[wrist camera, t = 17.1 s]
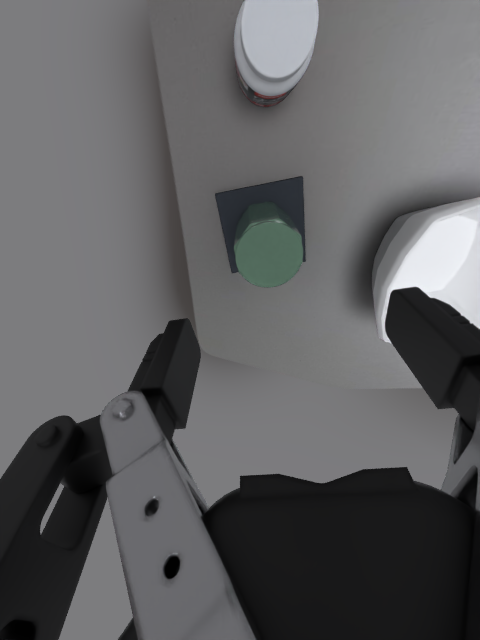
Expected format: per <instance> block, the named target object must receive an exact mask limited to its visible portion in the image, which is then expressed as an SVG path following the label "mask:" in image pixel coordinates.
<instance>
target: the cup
mask: <svg viewBox="0 0 480 640" xmlns="http://www.w3.org/2000/svg"><path fill="white" fill-rule="evenodd" d="M234 252H235V259H236V265H237V268H238V272H239V273H240V274H241V275H242V276H243V277H244V278H245V279H246V280H247V281H248V282H250V283H252V284H254V285H256V286H260V287H275V286H279V285H281V284H284V283H285V282H287V281H289V280H290V279H291V278H292V277H293V276H294V275H295V274H296V273H297V271H298V270H299V268H300V266H301V264H302V262H303V246H302V236H301V235H300V233H299V231H298V229H297V228H296V226H295V224H294V223H293V221H292V219H291V217H290V216H289V214H288V213H286V212H285V211H284V210H283V209H281V208H280V207H279V206H278V205H276V204H275V203H274V202H272V201H269V202H264V203H259V204H253V205H250V206H249V207H248V208H247V210H246V211H245V213H244V214H243V216H242V217H241V219H240V220H239V222H238V223H237V228H236V235H235V243H234Z"/></svg>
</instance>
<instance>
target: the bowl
mask: <svg viewBox="0 0 480 640" xmlns="http://www.w3.org/2000/svg"><path fill="white" fill-rule="evenodd" d="M409 287H418V288H420V289H421V290H422V291H423V292H424V293H425V294H427V295H428V296H429V297H430V298H436V299H438V300H441V301H443V302H445V303H447V304H450V305H451V306H452V307H453V308H454V309H456V310H457V311H458V312H459V313H461V316H464V317H465V318H467V319H468V320H469V321H470V324H471V323H473V324H474V325H475V326H476V327H477V328H479V329H480V197H477V198H472V199H468V200H463V201H458V202H453V203H449V204H444V205H441V206H436V207H432V208H427V209H422V210H418V211H415V212H411V213H408V214H404V215H401V216H399V217H398V218H397V219H396V220H395V221H394V222H393V224H392V225H391V227H390V228H389V230H388V231H387V233H386V234H385V236H384V238H383V240H382V242H381V244H380V247H379V249H378V251H377V253H376V255H375V258H374V264H373V270H372V291H373V299H374V310H375V317H376V325H377V333H378V337H379V338H380V339H382V340H383V341H386V342H389V343H391V341H390V340H389V338H388V337H387V334H386V331H385V320H386V314H387V309H388V304H389V298H390V294H391V292H392V291H393V290H395V289H402V288H409ZM391 344H392V343H391Z"/></svg>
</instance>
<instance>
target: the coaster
mask: <svg viewBox="0 0 480 640" xmlns="http://www.w3.org/2000/svg"><path fill="white" fill-rule="evenodd" d="M215 196H216V201H217V206H218V210H219V215H220V220H221V224H222V229H223V234H224V238H225V243H226V248H227V252H228V257H229V262H230V266H231V271H232V273H236V272H238V268H237V265H236V259H235V252H234V243H235V235H236V228H237V223H238V222H239V220H240V219H241V217H242V216H243V214H244V213H245V211H246V210H247V208H248V207H249V206H250V205H253V204H259V203H264V202H269V201H272V202H274V203H275V204H276V205H278V206H279V207H280V208H281V209H283V210H284V211H285V212H286V213H288V214H289V216H290V217H291V219H292V221H293V223H294V224H295V226H296V228H297V229H298V231H299V233H300V235H301V236H302V246H303V262H305V261H306V260H305V228H304V197H303V177H302V176H301V177H296V178H291V179H286V180H281V181H276V182H270V183H265V184H260V185H255V186H250V187H245V188H240V189H235V190H230V191H225V192H220V193H216V194H215Z"/></svg>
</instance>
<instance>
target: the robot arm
mask: <svg viewBox="0 0 480 640" xmlns="http://www.w3.org/2000/svg"><path fill="white" fill-rule="evenodd" d="M385 331H386V334H387V337H388V338H389V340H390V341H391V343H392V344H393V346H394V347H395V348H396V350H397V351H398V353H399V354H400V356H401V357H402V358H403V360H404V361H405V363H406V364H407V366H408V367H409V368H410V370H411V371H412V373H413V374H414V376H415V377H416V378H417V380H418V381H419V383H420V384H421V386H422V387H423V388H424V390H425V391H426V393H427V394H428V395H429V397H430V398H431V400H432V401H433V402H434V404H435V406H436V407H437V408H438V409H445V408H455V409H456V410H457V412H458V413H459V414H458V416H457V418H456V422H455V428H454V434H453V440H452V446H451V453H450V459H449V464H448V470H447V473H446V477H445V479H444V482H443V484H442V487H441V490H439V489H437V488H434V487H432V486H429V485H426V484H423V483H420V482H417V481H413V479H412V477H411V475H410V473H409V471H408V469H407V467H400V468H381V469H363V470H361V471H358V472H355V473H352V474H350V475H347V476H344V477H341V478H339V479H335V480H333V481H330V482H327V483H315V482H311V481H307V480H303V479H298V478H294V477H290V476H285V475H281V474H270V475H250V476H240V488H238V489H236V490H234V491H232V492H230V493H228V494H226V495H224V496H223V497H222V498H220V499H219V500H218V501H216V502H215V503H214V504H213V505H212V506H211V507H210V508H209V506H208V505H207V503H206V501H205V499H204V497H203V496H202V494H201V492H200V490H199V489H198V487H197V485H196V483H195V482H194V480H193V478H192V476H191V474H190V472H189V470H188V468H187V466H186V464H185V462H184V460H183V458H182V456H181V454H180V453H179V450H178V449H177V447H176V445H175V443H174V441H173V439H172V437H173V433H174V429H183V428H186V423H187V418H188V414H189V409H190V404H191V399H192V395H193V391H194V386H195V381H196V377H197V372H198V368H199V363H200V358H201V353H200V347H199V344H198V341H197V338H196V336H195V333H194V330H193V328H192V325H191V323H190V321H189V319H187V318H186V319H179V320H172V321H169V322H168V325H167V327H166V329H165V332H164V333H163V334H159V335H158V336H157V337H156V338H155V339H154V340H153V341H152V342H151V343H150V345H149V347H148V350H147V352H146V354H145V356H144V358H143V362H141V364H140V366H139V369H138V371H137V373H136V375H135V377H134V379H133V381H132V383H131V385H130V387H129V390H128V392H125V393H122V394H120V395H118V396H117V397H115V398H114V399H113V400H111V402H109V403H108V405H107V406H106V407H105V408H104V410H103V411H102V414H101V415H99V416H96V417H94V418H91V419H88V420H85V421H83V422H80V423H76V422H75V421H74V420H73V419H72V418H71V417H69V416H58V417H55V418H53V419H51V420H49V421H47V422H45V423H44V424H43V425H41V426H40V427H39V428H37V429H36V430H35V431H34V432H33V433H32V434H31V436H30V437H29V438H28V439H27V441H26V442H25V444H24V445H23V447H22V448H21V450H20V451H19V452H18V454H17V455H16V457H15V458H14V460H13V461H12V463H11V464H10V466H9V467H8V469H7V470H6V472H5V473H4V474H3V476H2V478H1V479H0V640H58V639H59V636H60V633H61V631H62V628H63V625H64V621H65V619H66V616H67V613H68V610H69V607H70V605H71V601H72V598H73V596H74V593H75V590H76V587H77V584H78V581H79V578H80V576H81V573H82V570H83V567H84V564H85V561H86V558H87V555H88V552H89V550H90V547H91V544H92V541H93V538H94V535H95V532H96V529H97V526H98V523H99V521H100V518H101V514H102V512H103V509H104V506H105V503H106V500H107V497H108V500H109V505H110V510H111V514H112V519H113V524H114V529H115V533H116V538H117V543H118V547H119V552H120V557H121V562H122V566H123V571H124V576H125V580H126V585H127V590H128V595H129V599H130V604H131V609H132V614H133V618H132V620H131V621H130V623H129V624H128V626H127V627H126V629H125V630H124V632H123V633H122V635H121V636H120V637H119V639H118V640H480V329H479V328H477V327H476V326H475V325H474V324H473V323H471V324H470V321H469V320H468V319H467V318H465V317H464V316H461V313H459V312H458V311H457V310H456V309H454V308H453V307H452V306H451V305H450V304H447V303H445V302H443V301H441V300H438V299H436V298H430V297H429V296H428V295H427V294H425V293H424V292H423V291H422V290H421V289H420V288H418V287H409V288H402V289H395V290H393V291H392V292H391V294H390V298H389V304H388V309H387V314H386V320H385ZM60 483H61V484H62V485H64V488H63V490H62V493H61V495H60V497H59V499H58V501H57V503H56V505H55V507H54V509H53V511H52V513H51V515H50V518H49V520H48V522H47V524H46V526H45V528H44V530H43V532H42V534H41V535H40V525H41V521H42V518H43V516H44V514H45V512H46V510H47V508H48V506H49V504H50V502H51V500H52V498H53V496H54V494H55V492H56V490H57V488H58V486H59V484H60Z"/></svg>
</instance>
